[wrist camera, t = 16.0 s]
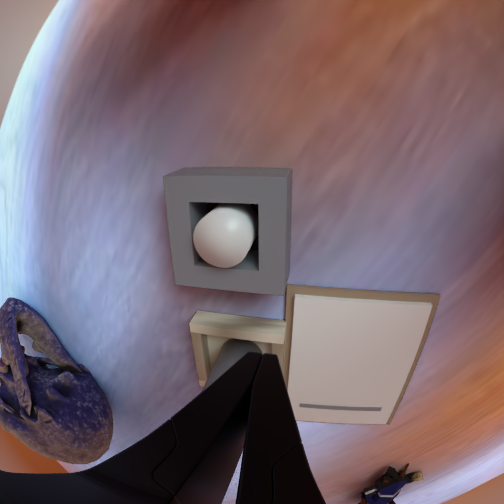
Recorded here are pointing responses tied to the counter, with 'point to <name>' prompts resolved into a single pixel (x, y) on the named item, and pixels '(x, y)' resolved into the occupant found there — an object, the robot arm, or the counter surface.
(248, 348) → the marker
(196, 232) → the button
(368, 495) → the toy
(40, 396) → the decorative skull
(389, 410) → the white flat rectangular panel
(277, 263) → the button housing
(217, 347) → the holder tray
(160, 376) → the counter surface
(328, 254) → the counter surface
